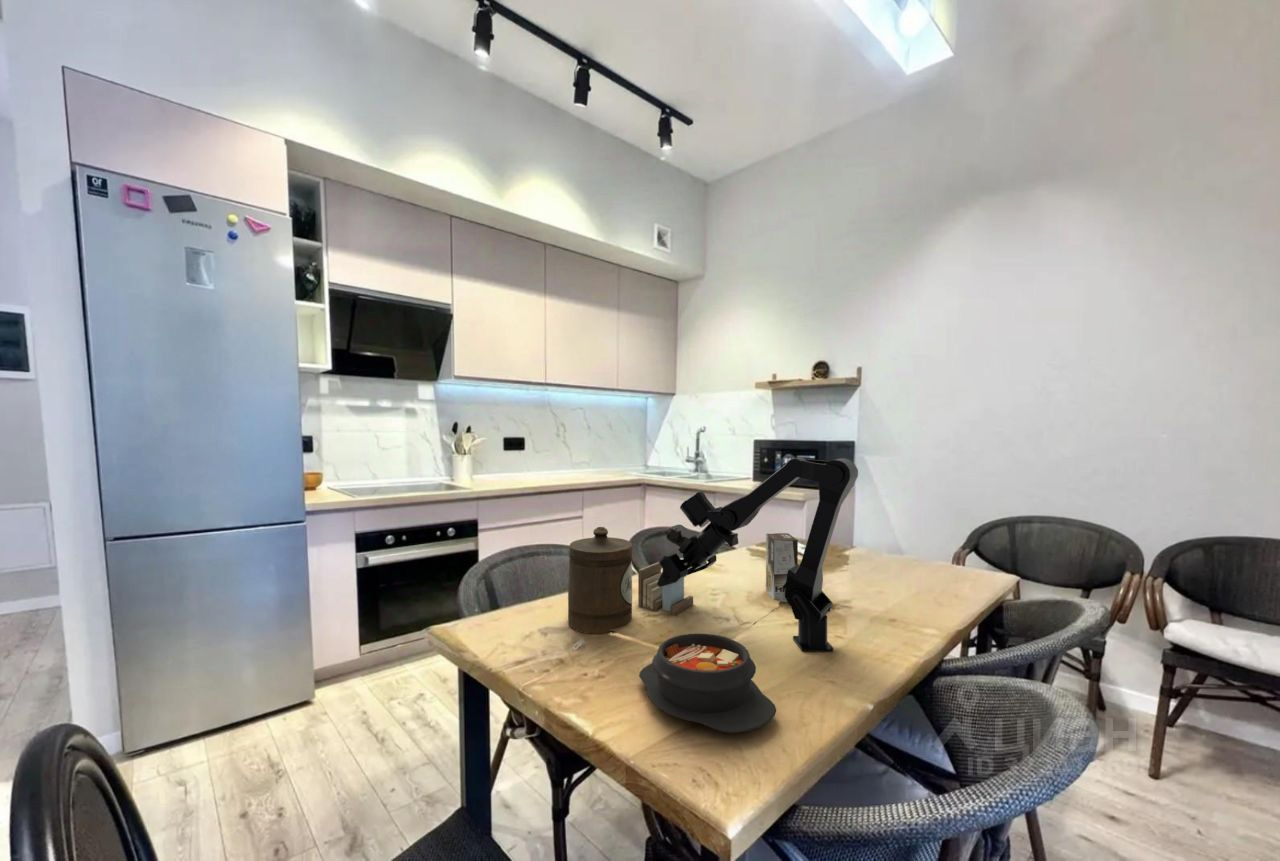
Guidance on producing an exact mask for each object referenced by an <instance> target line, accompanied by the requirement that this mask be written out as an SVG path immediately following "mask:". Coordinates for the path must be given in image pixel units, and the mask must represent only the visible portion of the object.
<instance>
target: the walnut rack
mask: <svg viewBox="0 0 1280 861" xmlns="http://www.w3.org/2000/svg"><path fill="white" fill-rule="evenodd" d="M637 572H638V573H637V574H638V590H637V591H638V598H637V599H638V605H637V607H640V608H643V609H647V610H652V611H656V612H660V613H664V614H667V615H672V616H674V617H677V616H678V615H680V614H681V613H683V612H685V611H687V610H688V609H689V610H690V609H691V608H692V607H694V606H695V604H694V596H693V595H688V596H685V597H684V599H682V600H680V601H679V602H677V603H675V604H673V605H671V606H670V611H666V610H662V587H659V586H658V585H657V582H658V580H659V578H660V576H661V574H662V566H661V565H660V563H659V561H657V562H655V563H653V564H650V565H648V566H647V565H646V566H645V567H642V568H639V569H638V571H637Z"/></svg>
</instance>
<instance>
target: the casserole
mask: <svg viewBox="0 0 1280 861" xmlns="http://www.w3.org/2000/svg"><path fill="white" fill-rule="evenodd" d="M651 661H652V662H651V663H649V664H648V665H646V666H645V667H643V668H642V669H641V670H640V672H639V675H638V677H639V678H640V680H641V681H642V683H643V684H644V686H645V688H646V692H647V695H648V698H649V699H650V701H651V702H652V703H653V704H654V705H655V706H656V707H657V708H658V709H660V711H663V712H664V713H666V714H668V715H670V716H672V717H675V718H677V719H680V720H684V721H689V722H693V723H697V724H701V725H704V726H706V727H709V728H711V729H714V730H715V731H718V732H722V733H727V734H737V733H739V734H740V733H746V732H749V731H753V730H756V729H759V728H762V727H763V726H765V725H766V724H768V723H769V722H771V720H773V718H774V717H775V716H776V714H777V707H776V704H775V703H773V701H772V700H771V699H770V698H769V697H768V696H766V695H764V693H763V692H762V691H761V690H760V687H758V685H757V684H756V682H755V681H754V680H752V679H753V678H754V677H755V674H756V671H757V667H756V664H755V662H754V660H753V659H752V658H751V656H750V653H749V651H748V649H747V648H746V647H745V646H744V645H742V644H741V643H740V642H738V641H736V640H734V639H732V638H730V637H726V636H723V635H718V634H713V633H700V632H698V633H686V634H680V635H675V636H673V637H669V638H668V639H666V640H665V641H663V642H662V643H661V644H660V645H659V647H658V649H657V651H656V654H655V655H654V656H653V659H652V660H651Z"/></svg>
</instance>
